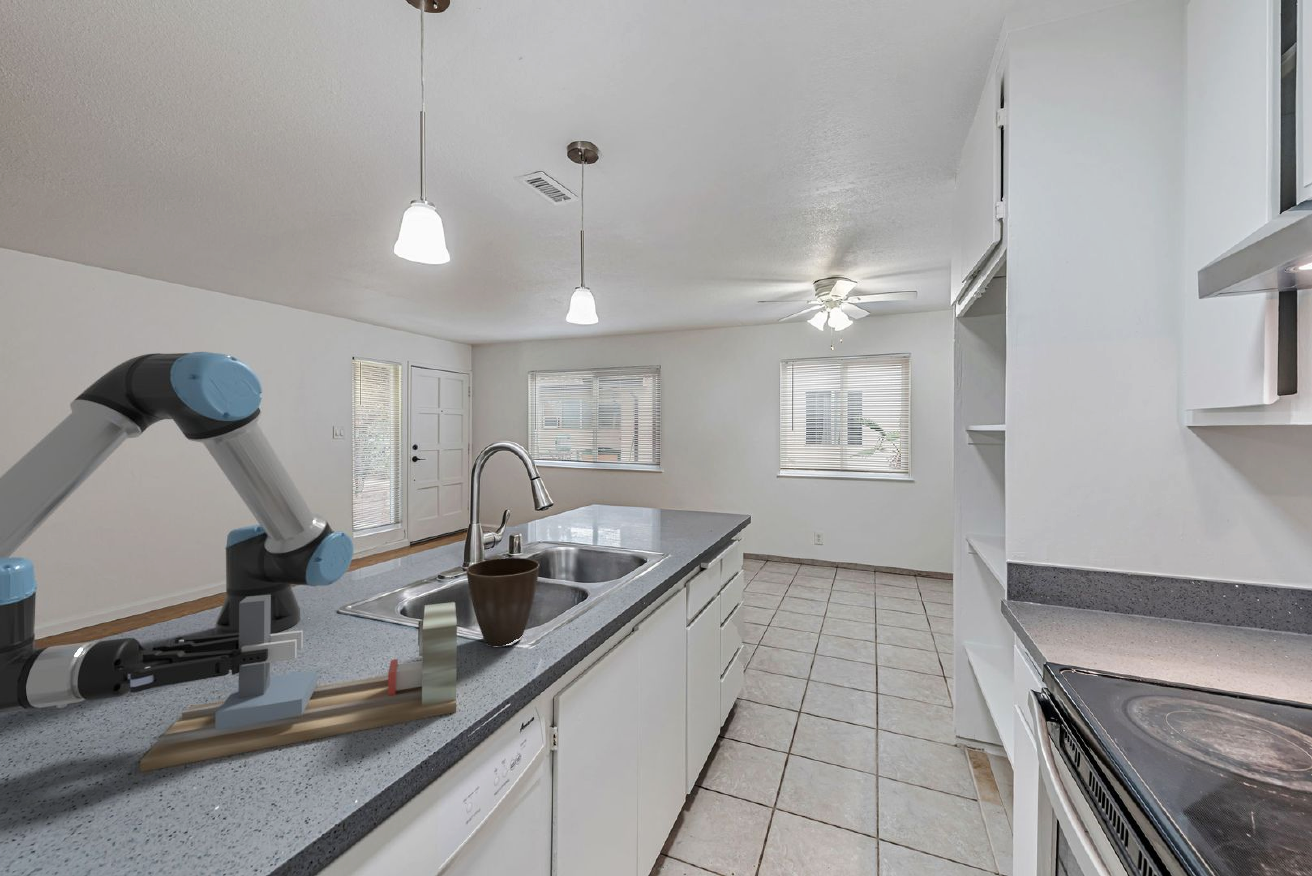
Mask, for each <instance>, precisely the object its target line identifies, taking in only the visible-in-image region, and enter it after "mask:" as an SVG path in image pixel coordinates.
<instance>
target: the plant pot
mask: <svg viewBox="0 0 1312 876" xmlns="http://www.w3.org/2000/svg"><path fill="white" fill-rule="evenodd" d="M539 571H540V563H539V562H538V561H537V560H533V559H529V558H524V557H523V558H521V557H505V558H503V557H502V558H493V559H487V560H481V561H478V562H476V563H473V564H471V565H469V566H468V567H467V568H466V571H465V572H466V577H467V583H468V590H469V595H470V598H471V604H472V607H473V611H474V614H475V618H476V621H477V624H478V626H479V630H480V633H481V634H482V637H483V639H484V642H485V644H486V645H487V644H488V645H487V646H489V645H490V646H489V647H492V646H503V645H506V644H509V643H511V642H513V641H514V640H516V639H519V638H520V637H521V636H522V635H524V633H525V630H526V626H527V624H528V621H529V618H530V616H531V611H532V607H533V604H534V600H535V595H536V591H537V585H538V579H539V578H538V577H539ZM522 637H523V636H522Z"/></svg>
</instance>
